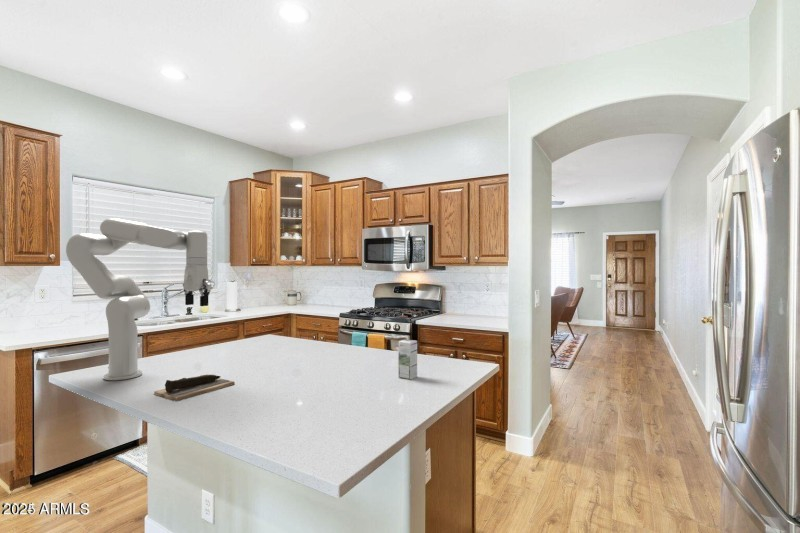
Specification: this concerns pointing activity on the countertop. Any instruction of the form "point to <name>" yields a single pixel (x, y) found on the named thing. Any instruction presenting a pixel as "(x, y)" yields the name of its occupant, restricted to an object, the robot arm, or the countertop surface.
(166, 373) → the countertop surface
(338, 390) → the countertop surface
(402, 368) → the syrup box
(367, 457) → the countertop surface
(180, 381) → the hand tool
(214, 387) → the plywood panel
